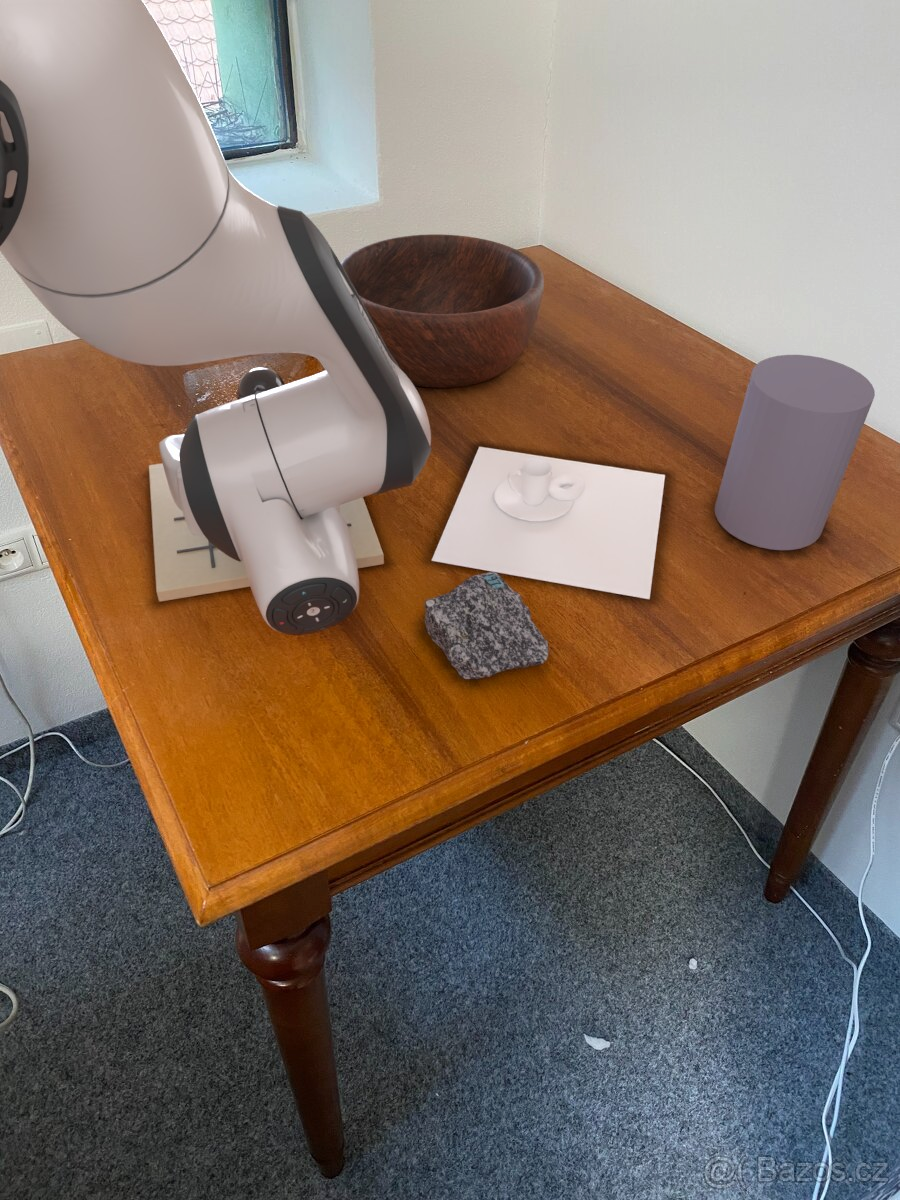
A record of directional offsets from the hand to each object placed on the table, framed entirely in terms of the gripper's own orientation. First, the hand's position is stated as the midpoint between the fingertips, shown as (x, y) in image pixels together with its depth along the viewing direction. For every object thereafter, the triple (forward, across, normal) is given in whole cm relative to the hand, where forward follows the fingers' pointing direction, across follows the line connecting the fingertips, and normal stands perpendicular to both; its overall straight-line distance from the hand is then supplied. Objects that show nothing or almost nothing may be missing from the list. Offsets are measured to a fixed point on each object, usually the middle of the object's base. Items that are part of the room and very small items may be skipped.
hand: (264, 412), depth 87 cm
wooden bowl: (+21, -24, +7) cm, 33 cm away
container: (-21, -46, +7) cm, 51 cm away
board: (-8, +2, +7) cm, 10 cm away
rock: (-30, -14, +7) cm, 34 cm away
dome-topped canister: (-1, 0, +5) cm, 5 cm away
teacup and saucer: (-15, -26, +7) cm, 31 cm away
